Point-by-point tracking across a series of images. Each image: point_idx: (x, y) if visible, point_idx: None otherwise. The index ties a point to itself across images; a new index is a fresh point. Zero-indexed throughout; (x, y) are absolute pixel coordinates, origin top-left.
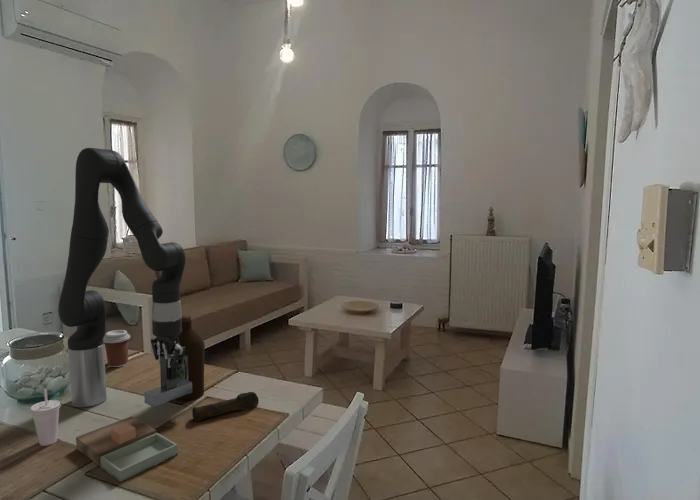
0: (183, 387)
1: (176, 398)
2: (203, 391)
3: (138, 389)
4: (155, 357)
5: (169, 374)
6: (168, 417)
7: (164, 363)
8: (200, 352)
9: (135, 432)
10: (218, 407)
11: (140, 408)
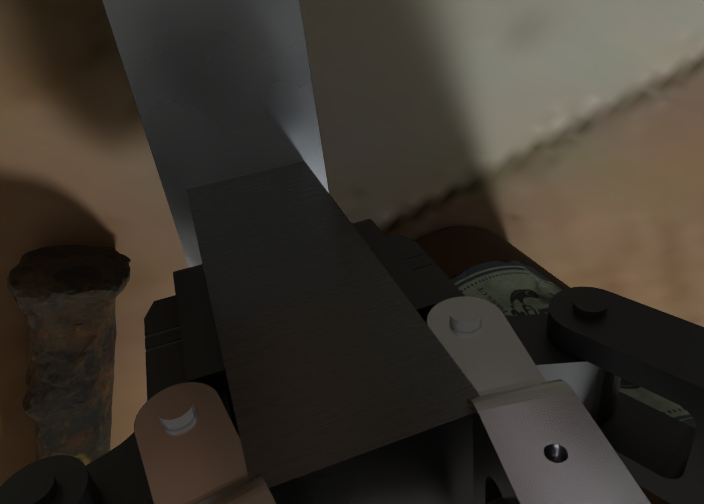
0: None
1: (429, 239)
2: None
3: (698, 104)
4: (597, 306)
5: (178, 318)
6: None
7: (287, 376)
8: None
9: None
10: (34, 419)
11: (485, 21)
